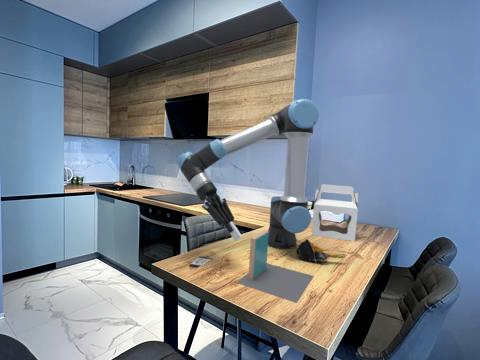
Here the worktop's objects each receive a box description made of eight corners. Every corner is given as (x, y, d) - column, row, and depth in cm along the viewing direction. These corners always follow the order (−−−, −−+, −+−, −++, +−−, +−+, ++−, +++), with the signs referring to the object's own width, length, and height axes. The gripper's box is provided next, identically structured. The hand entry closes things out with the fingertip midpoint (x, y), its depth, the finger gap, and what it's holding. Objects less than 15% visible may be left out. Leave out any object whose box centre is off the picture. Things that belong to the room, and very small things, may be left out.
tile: (262, 267, 95) (264, 230, 93) (266, 268, 94) (269, 231, 92) (248, 279, 85) (250, 238, 84) (253, 280, 84) (255, 239, 83)
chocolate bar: (236, 273, 89) (189, 265, 94) (236, 275, 89) (189, 267, 94) (242, 263, 98) (199, 256, 102) (242, 265, 98) (199, 258, 102)
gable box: (353, 234, 145) (358, 185, 142) (355, 241, 133) (360, 188, 130) (313, 229, 153) (316, 182, 150) (311, 235, 140) (315, 184, 138)
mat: (261, 263, 100) (262, 261, 100) (313, 277, 90) (313, 275, 90) (235, 284, 82) (235, 282, 82) (296, 304, 72) (296, 302, 72)
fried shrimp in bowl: (292, 243, 111) (331, 231, 111) (300, 269, 108) (341, 257, 108) (295, 242, 102) (338, 229, 103) (305, 270, 99) (349, 257, 99)
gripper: (208, 191, 105) (240, 239, 99) (186, 194, 94) (222, 249, 88) (219, 180, 102) (254, 229, 96) (198, 182, 91) (236, 237, 84)
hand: (238, 238), depth 92 cm, fingers closed
